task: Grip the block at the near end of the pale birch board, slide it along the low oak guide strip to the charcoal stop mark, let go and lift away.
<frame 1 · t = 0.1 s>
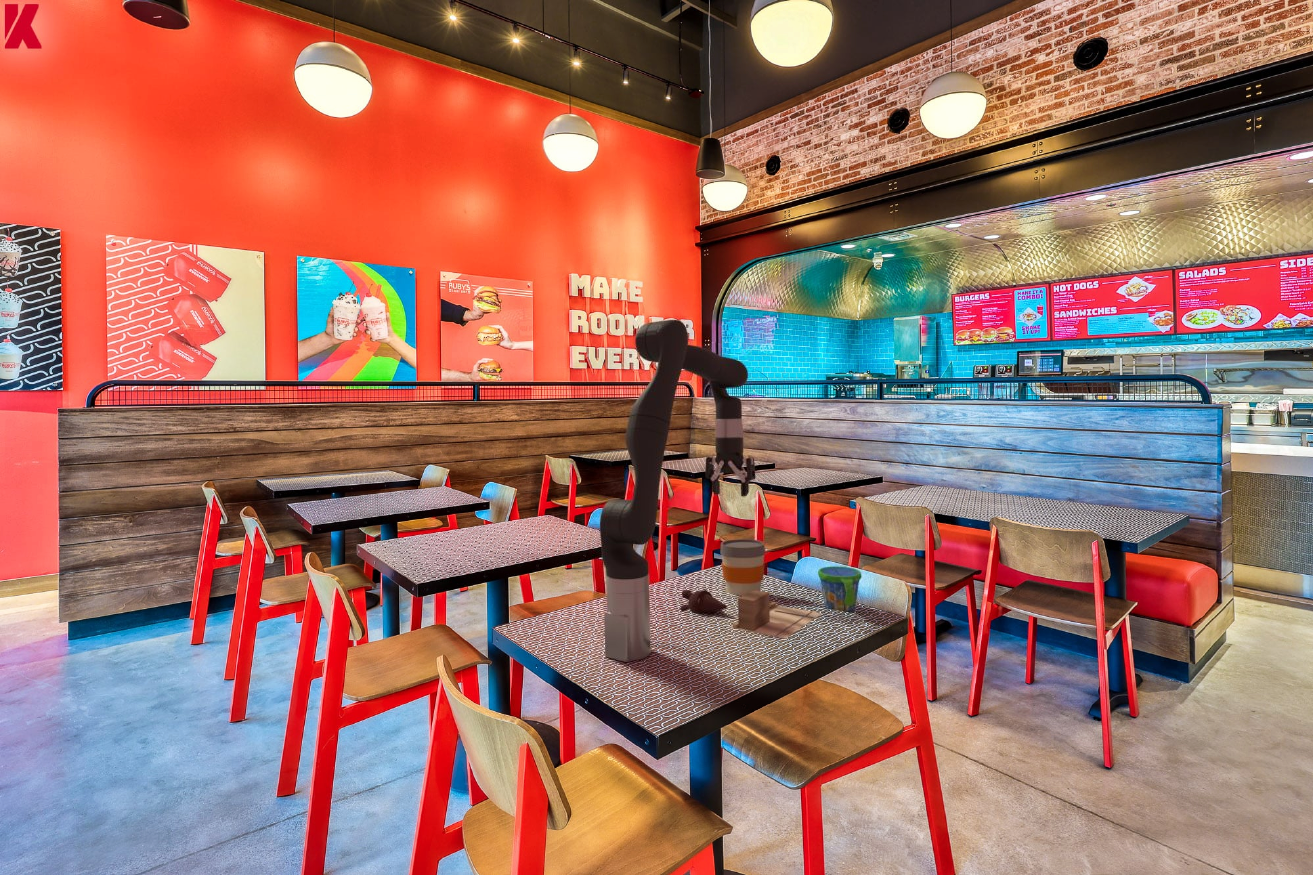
hand: (730, 495, 172), 29 cm above the table, tool pointing down, fingers open, 8 cm apart
block: (754, 624, 149), point 1 cm above the table, touching board
icecream: (703, 617, 161), on the table
board: (777, 626, 152), on the table
reusable coffee cup: (743, 597, 177), on the table
snack cup: (840, 610, 163), on the table
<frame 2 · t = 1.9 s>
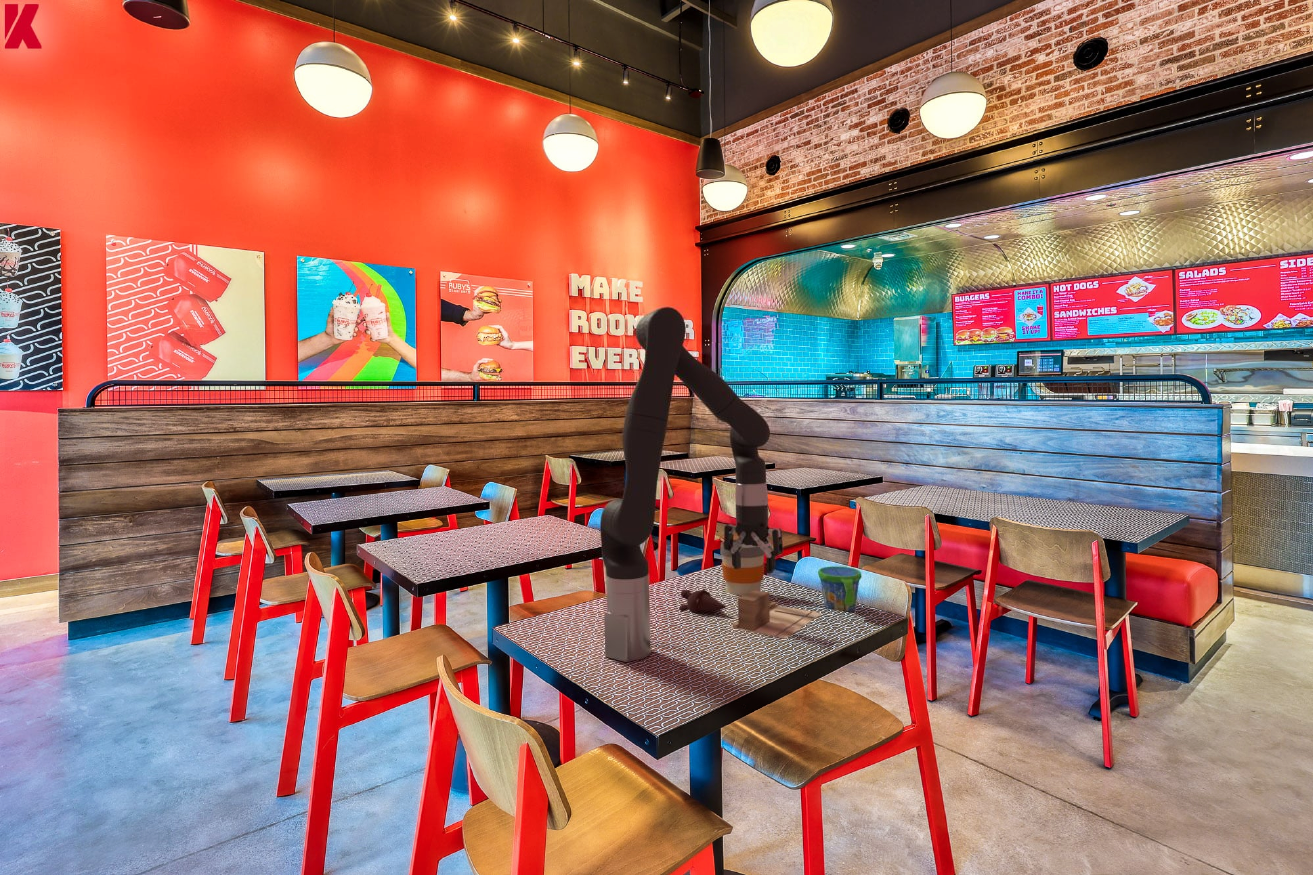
hand: (753, 570, 148), 14 cm above the table, tool pointing down, fingers open, 8 cm apart
nothing on the table moved.
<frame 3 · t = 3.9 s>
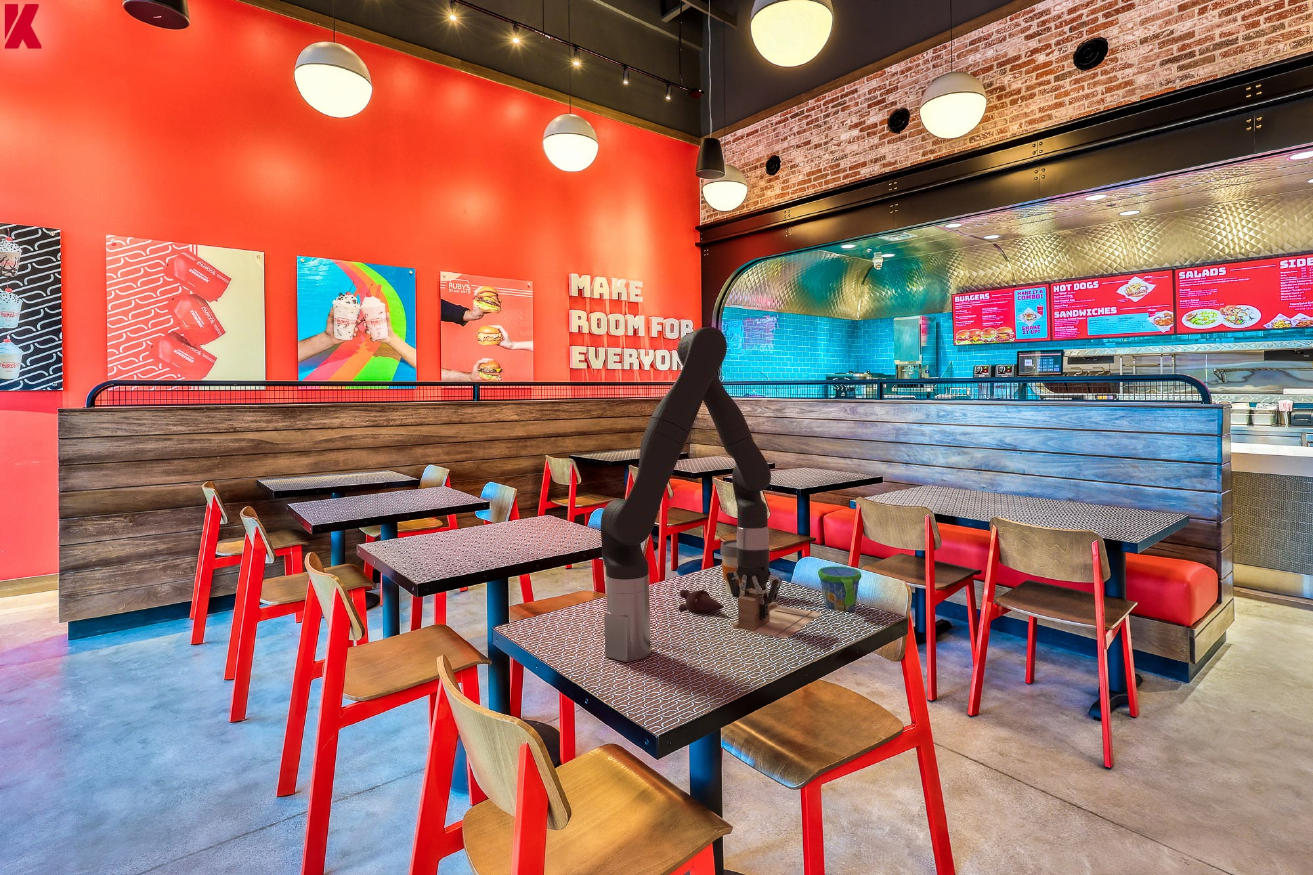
hand: (754, 617, 149), 3 cm above the table, tool pointing down, fingers closed on block, 4 cm apart
block: (754, 624, 149), point 2 cm above the table, touching board, gripper
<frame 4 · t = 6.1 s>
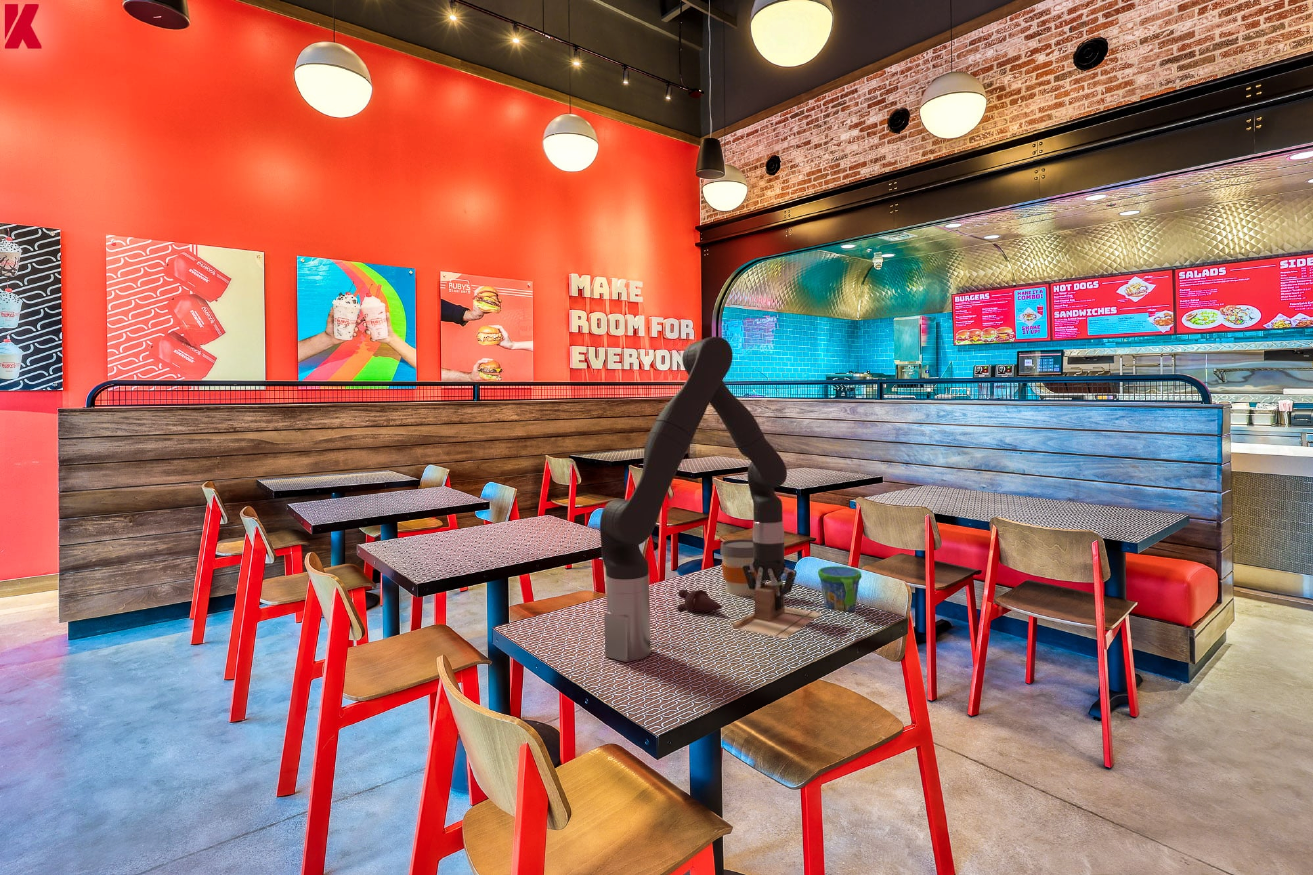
hand: (770, 608, 155), 3 cm above the table, tool pointing down, fingers closed on block, 4 cm apart
block: (769, 615, 155), point 2 cm above the table, touching gripper
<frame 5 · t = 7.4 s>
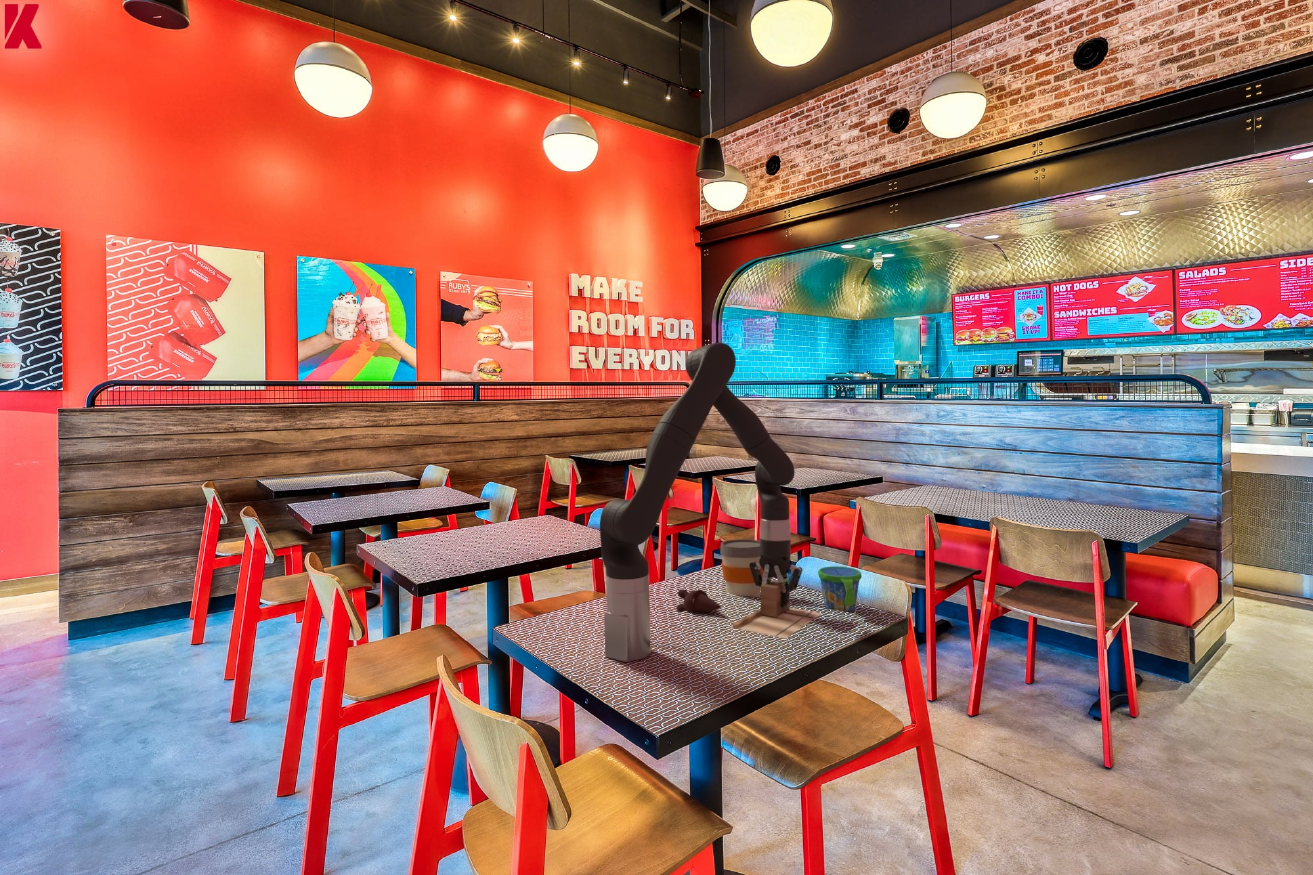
hand: (775, 604, 157), 3 cm above the table, tool pointing down, fingers closed on block, 4 cm apart
block: (775, 611, 157), point 2 cm above the table, touching board, gripper
when the fingers open (3 cm above the table, at t = 8.2 s): block stays where it is, resting on board.
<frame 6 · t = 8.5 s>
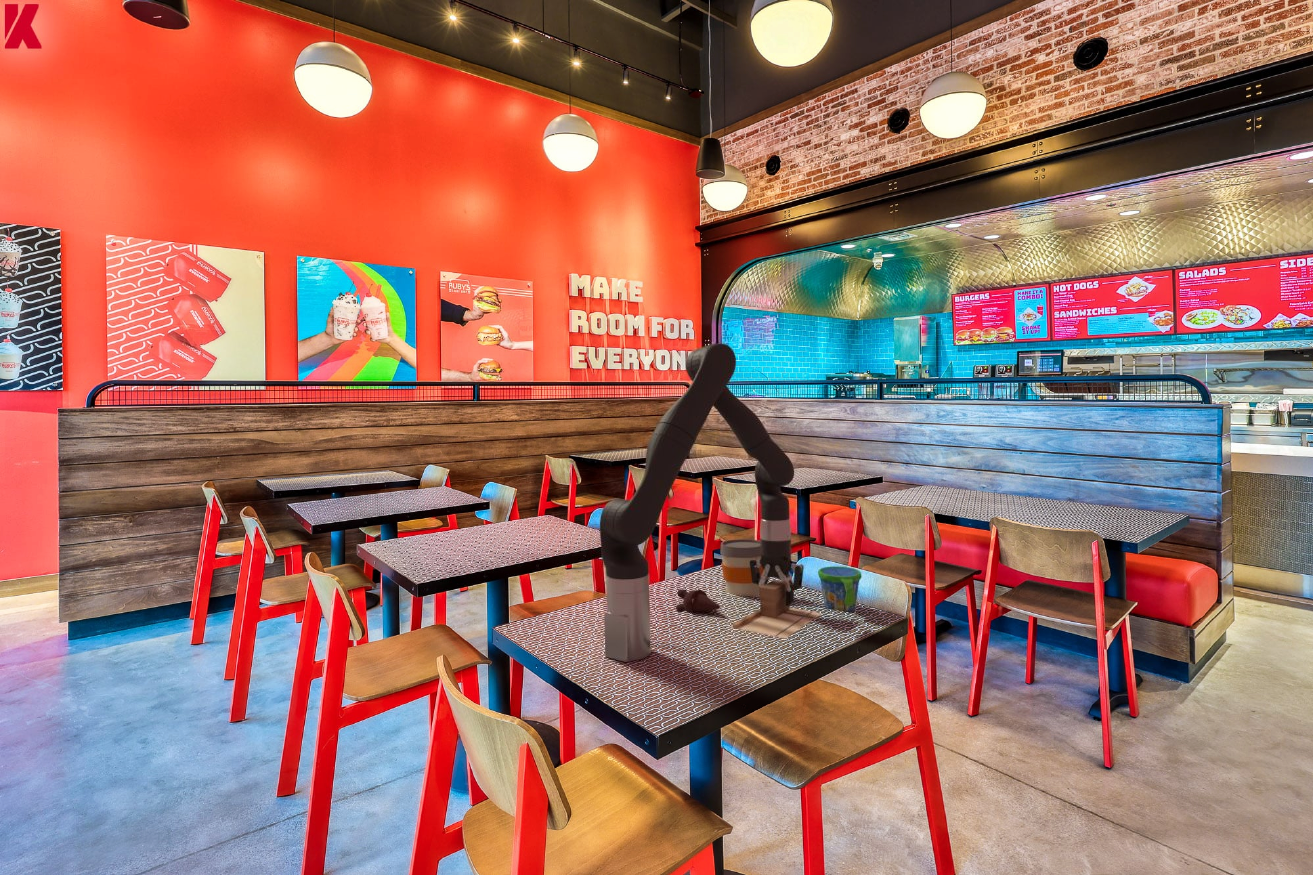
hand: (776, 603, 158), 4 cm above the table, tool pointing down, fingers open, 6 cm apart
block: (775, 612, 157), point 2 cm above the table, touching board
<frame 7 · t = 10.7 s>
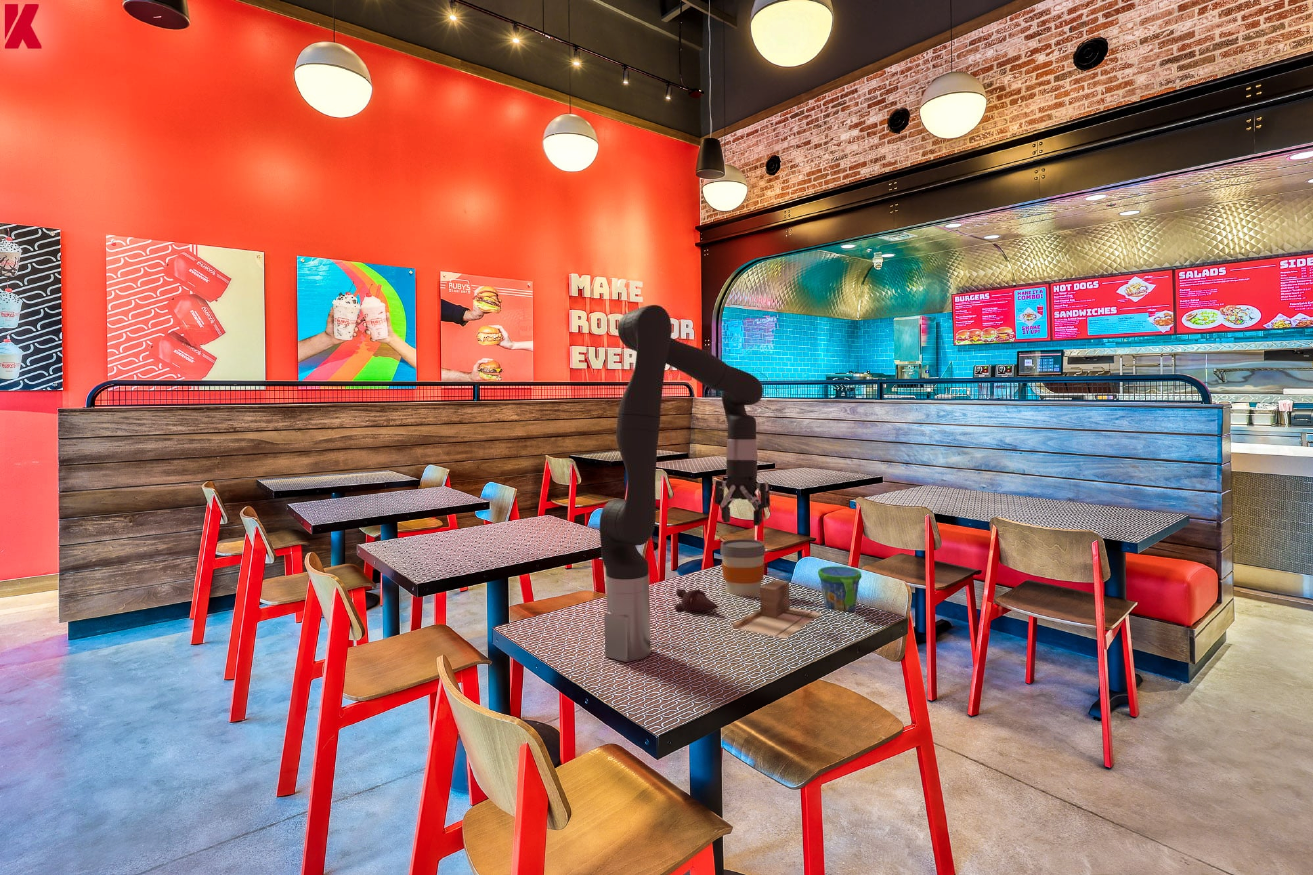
hand: (741, 523, 155), 24 cm above the table, tool pointing down, fingers open, 8 cm apart
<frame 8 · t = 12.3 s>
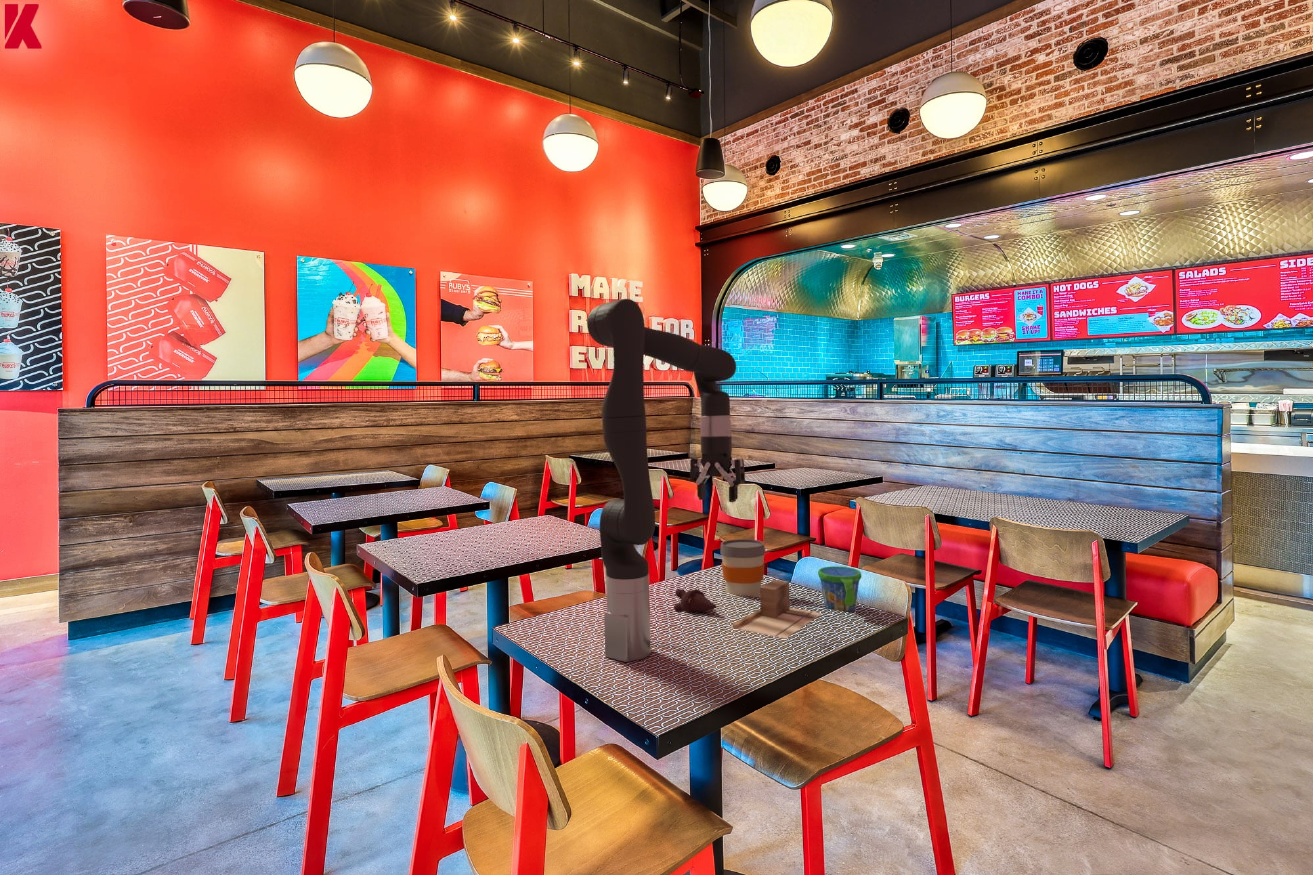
hand: (717, 500, 154), 30 cm above the table, tool pointing down, fingers open, 8 cm apart
at the end: block 1.0 cm from the target spot, point 1.6 cm above the table; block tilted 1°; the gripper is holding nothing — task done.
